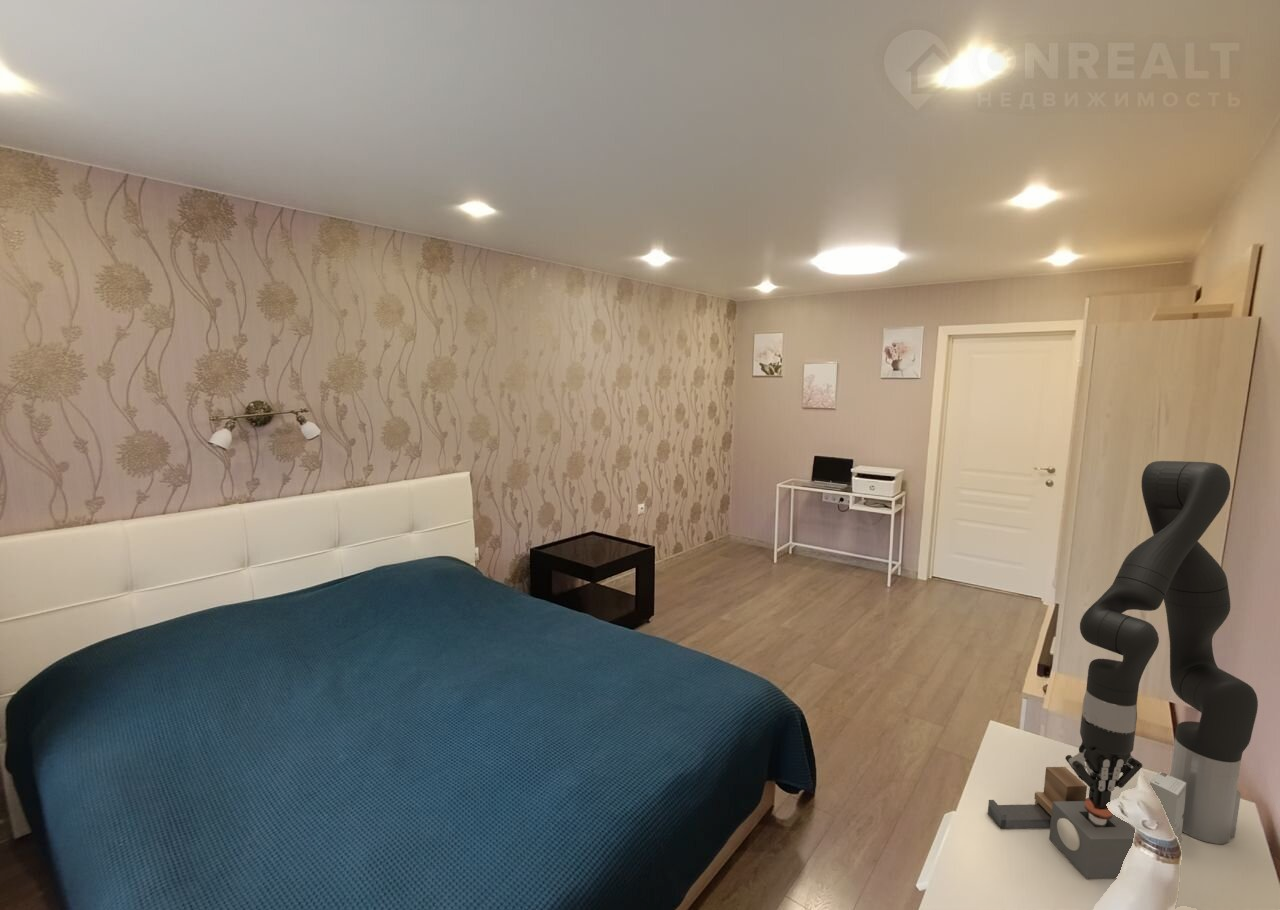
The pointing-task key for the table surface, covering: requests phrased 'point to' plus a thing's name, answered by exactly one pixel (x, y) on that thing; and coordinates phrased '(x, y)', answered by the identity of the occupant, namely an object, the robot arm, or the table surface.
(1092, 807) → the plunger
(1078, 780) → the stepped wooden block
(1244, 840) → the table surface
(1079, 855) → the cabinet
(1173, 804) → the skincare box
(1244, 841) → the table surface
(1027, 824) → the rail
